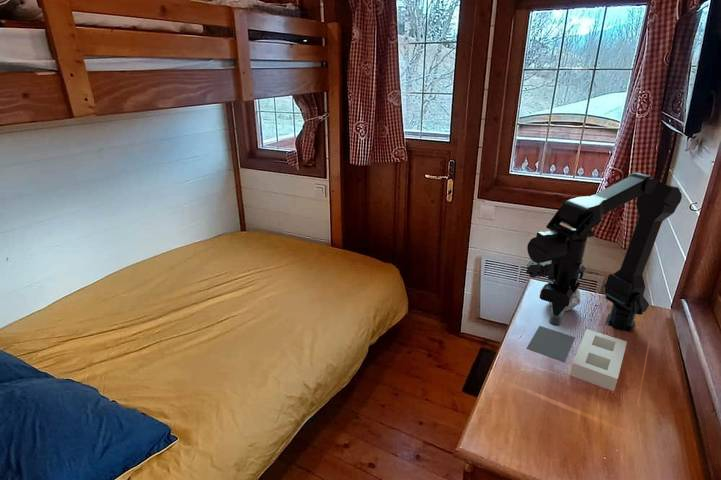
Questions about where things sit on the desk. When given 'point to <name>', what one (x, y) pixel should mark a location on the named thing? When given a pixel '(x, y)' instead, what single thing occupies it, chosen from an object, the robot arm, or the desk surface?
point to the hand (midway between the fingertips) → (557, 312)
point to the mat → (551, 343)
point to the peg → (556, 318)
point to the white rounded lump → (573, 301)
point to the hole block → (599, 359)
